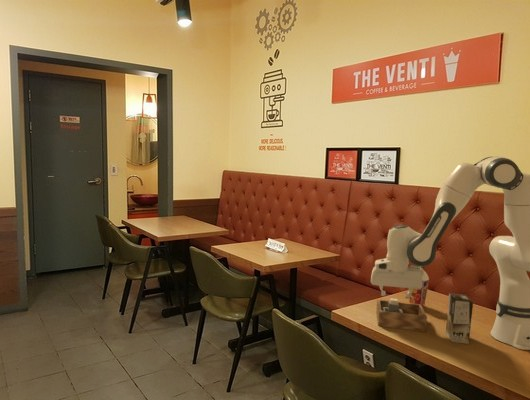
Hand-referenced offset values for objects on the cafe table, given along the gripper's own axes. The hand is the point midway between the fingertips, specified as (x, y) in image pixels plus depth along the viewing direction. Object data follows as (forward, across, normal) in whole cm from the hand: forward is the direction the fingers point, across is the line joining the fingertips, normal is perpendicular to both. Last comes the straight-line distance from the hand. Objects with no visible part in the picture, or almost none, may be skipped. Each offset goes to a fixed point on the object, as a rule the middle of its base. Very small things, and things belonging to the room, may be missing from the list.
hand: (395, 296), depth 165 cm
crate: (+10, -2, 0) cm, 11 cm away
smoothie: (+11, -12, -22) cm, 27 cm away
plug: (+9, +1, +1) cm, 9 cm away
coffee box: (+11, -22, +9) cm, 27 cm away
